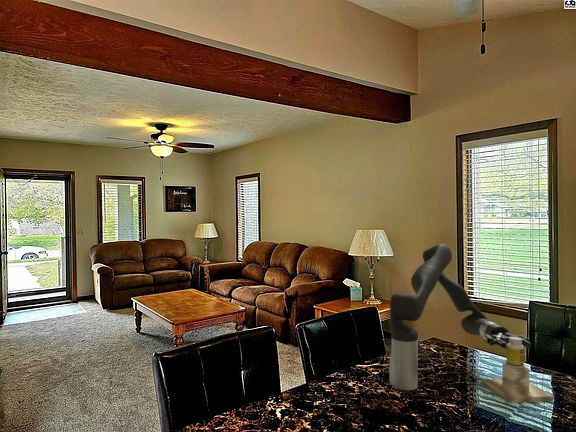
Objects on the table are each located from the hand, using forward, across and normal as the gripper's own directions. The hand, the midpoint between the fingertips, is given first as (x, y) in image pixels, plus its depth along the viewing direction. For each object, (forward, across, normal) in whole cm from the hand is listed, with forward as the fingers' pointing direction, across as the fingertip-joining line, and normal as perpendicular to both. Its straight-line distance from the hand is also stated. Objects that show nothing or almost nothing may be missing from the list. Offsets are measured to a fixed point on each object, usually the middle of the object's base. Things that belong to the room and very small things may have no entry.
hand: (517, 346), depth 146 cm
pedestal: (-1, 0, +16) cm, 17 cm away
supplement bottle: (-2, 0, +8) cm, 8 cm away
